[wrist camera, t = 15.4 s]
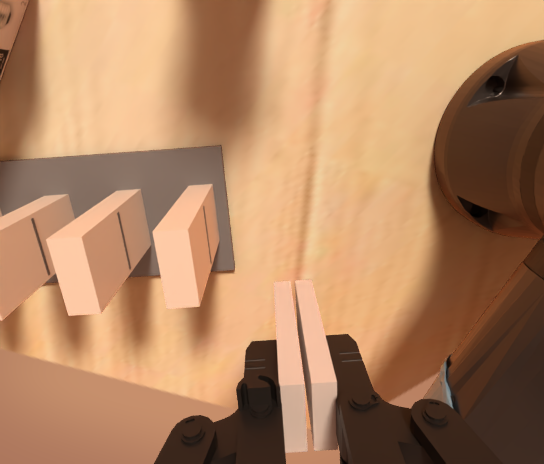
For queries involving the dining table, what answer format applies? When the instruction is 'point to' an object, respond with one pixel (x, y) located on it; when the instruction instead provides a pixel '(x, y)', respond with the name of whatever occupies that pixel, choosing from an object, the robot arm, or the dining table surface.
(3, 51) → the light bulb box
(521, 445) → the robot arm
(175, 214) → the domino
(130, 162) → the slate mat
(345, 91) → the dining table surface
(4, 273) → the loose domino
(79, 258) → the domino
